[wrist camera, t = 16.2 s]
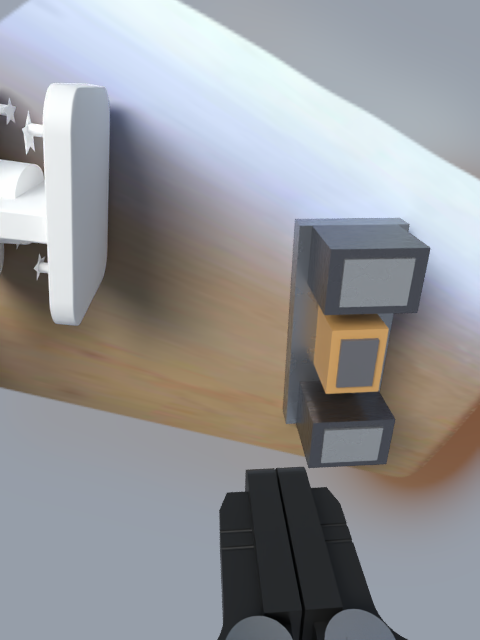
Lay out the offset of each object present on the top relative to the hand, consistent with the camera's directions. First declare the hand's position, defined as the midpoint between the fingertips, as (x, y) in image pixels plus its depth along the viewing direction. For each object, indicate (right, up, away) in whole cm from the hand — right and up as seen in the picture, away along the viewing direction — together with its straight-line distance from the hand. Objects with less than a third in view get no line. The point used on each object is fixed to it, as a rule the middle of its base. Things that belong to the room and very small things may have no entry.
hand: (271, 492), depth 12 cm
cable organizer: (-16, +15, +24) cm, 33 cm away
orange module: (+8, +3, +30) cm, 31 cm away
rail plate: (+8, +4, +31) cm, 33 cm away
